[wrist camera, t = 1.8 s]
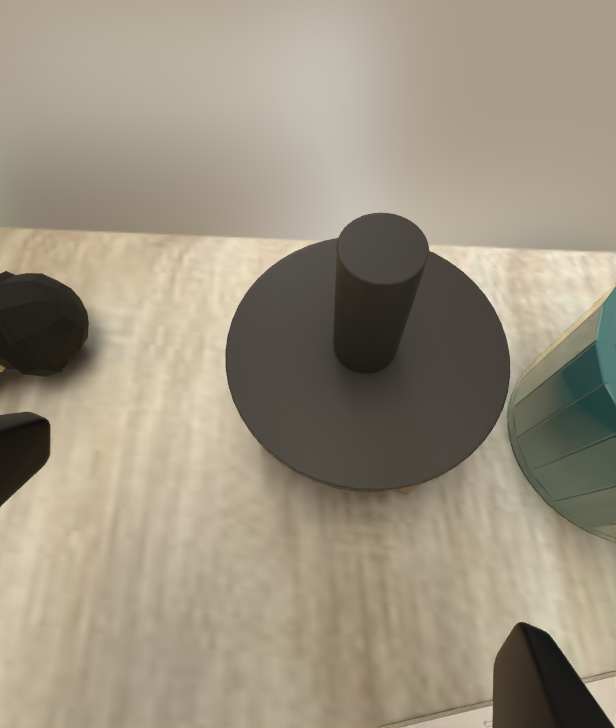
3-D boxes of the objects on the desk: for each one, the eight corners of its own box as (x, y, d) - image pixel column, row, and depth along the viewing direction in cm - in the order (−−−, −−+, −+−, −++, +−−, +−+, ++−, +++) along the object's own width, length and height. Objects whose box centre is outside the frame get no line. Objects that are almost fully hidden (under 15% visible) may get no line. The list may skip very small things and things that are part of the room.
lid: (520, 509, 15) (648, 476, 9) (201, 475, 16) (126, 425, 10) (494, 250, 20) (566, 117, 14) (251, 236, 21) (221, 107, 15)
